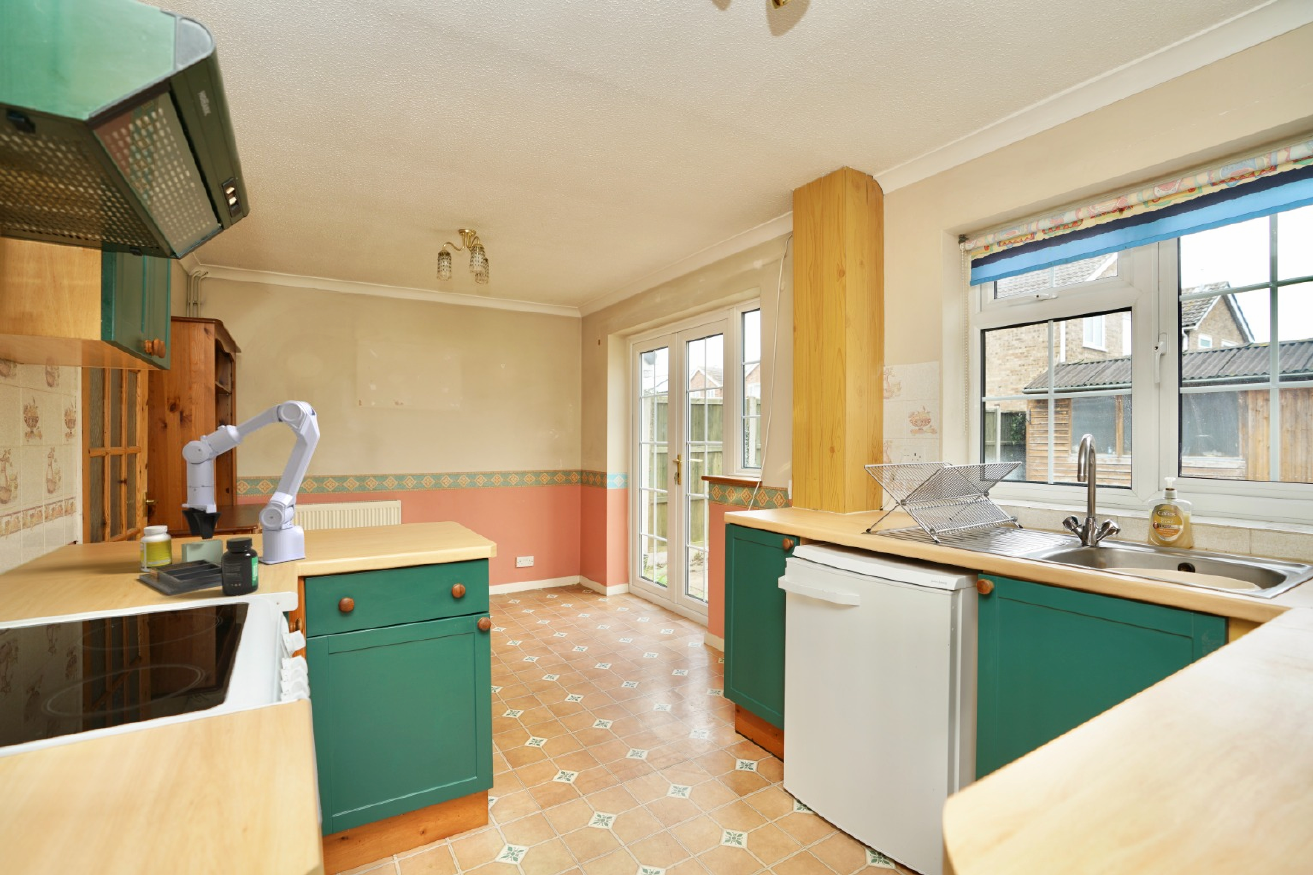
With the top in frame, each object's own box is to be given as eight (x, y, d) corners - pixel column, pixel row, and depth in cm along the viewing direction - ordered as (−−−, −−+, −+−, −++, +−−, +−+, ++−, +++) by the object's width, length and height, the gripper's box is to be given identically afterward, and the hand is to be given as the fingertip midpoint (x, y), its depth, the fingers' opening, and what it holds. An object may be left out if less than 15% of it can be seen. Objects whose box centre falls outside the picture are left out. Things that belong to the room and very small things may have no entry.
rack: (212, 566, 159) (212, 557, 159) (246, 580, 146) (246, 570, 146) (139, 579, 147) (138, 568, 147) (169, 595, 134) (169, 584, 134)
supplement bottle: (264, 590, 139) (263, 537, 138) (232, 597, 133) (231, 543, 132) (248, 585, 142) (247, 534, 141) (215, 593, 136) (214, 540, 135)
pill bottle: (178, 566, 159) (177, 524, 159) (156, 572, 153) (155, 529, 152) (156, 566, 160) (155, 524, 159) (134, 572, 153) (133, 528, 153)
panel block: (217, 560, 166) (217, 538, 166) (223, 562, 164) (222, 540, 164) (182, 566, 160) (181, 543, 159) (187, 568, 157) (186, 545, 157)
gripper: (172, 485, 162) (174, 535, 162) (192, 489, 153) (193, 543, 154) (204, 483, 168) (205, 531, 168) (224, 487, 159) (225, 538, 160)
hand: (201, 537), depth 161 cm, fingers open, 7 cm apart
